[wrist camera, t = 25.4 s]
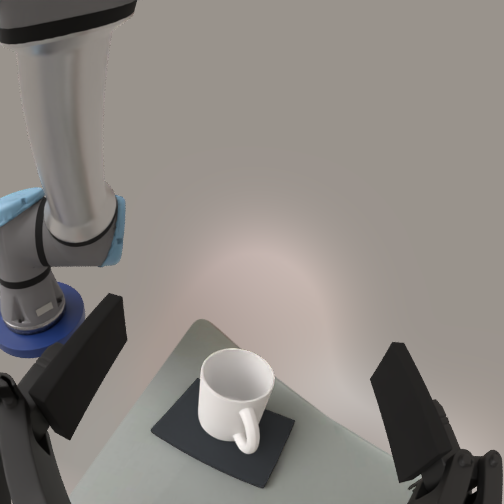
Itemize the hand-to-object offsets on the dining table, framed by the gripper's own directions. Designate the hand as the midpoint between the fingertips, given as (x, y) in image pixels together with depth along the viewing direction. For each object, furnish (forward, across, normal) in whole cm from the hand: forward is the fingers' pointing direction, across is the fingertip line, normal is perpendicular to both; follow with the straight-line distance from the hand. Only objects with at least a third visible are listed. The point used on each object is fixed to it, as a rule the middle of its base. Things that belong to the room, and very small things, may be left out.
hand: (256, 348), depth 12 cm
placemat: (+10, 0, -26) cm, 28 cm away
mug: (+10, +1, -25) cm, 27 cm away
